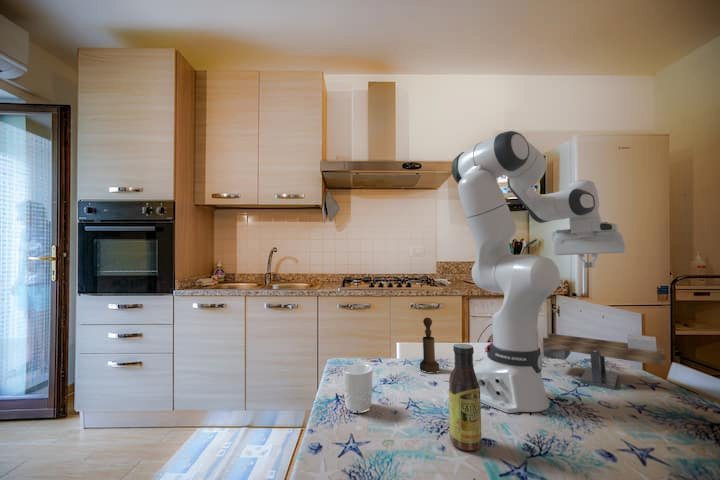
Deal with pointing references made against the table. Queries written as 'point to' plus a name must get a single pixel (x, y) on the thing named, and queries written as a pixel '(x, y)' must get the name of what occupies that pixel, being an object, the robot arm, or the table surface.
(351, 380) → the white cup
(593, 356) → the beam stand
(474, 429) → the sauce bottle
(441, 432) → the table surface
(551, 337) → the balance beam
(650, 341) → the steel rider
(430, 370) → the mortar and pestle
